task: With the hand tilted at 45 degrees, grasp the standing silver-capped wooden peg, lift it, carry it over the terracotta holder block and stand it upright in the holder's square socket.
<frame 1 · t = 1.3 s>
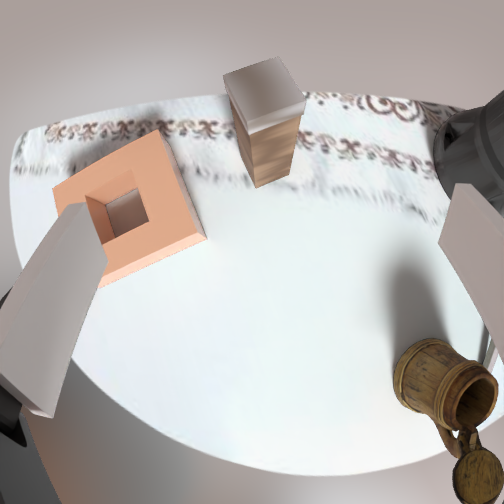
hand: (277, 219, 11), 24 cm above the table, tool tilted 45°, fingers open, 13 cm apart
wooden mug: (422, 391, 32), on the table
terracotta holder: (133, 216, 35), on the table
silver-capped wooden peg: (265, 165, 35), on the table
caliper: (487, 330, 33), on the table
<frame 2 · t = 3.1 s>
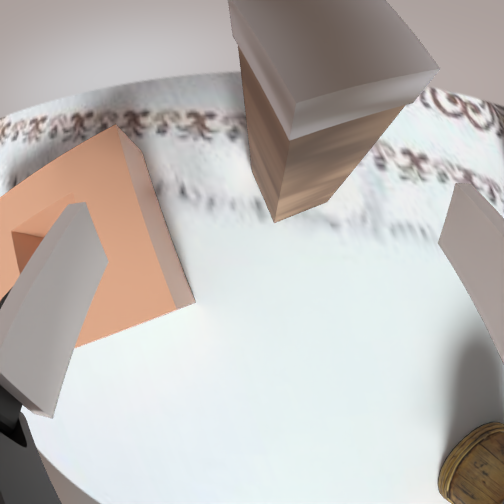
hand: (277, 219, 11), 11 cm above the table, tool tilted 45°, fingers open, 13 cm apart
wooden mug: (467, 479, 20), on the table
terracotta holder: (86, 259, 22), on the table
silver-capped wooden peg: (289, 186, 22), on the table
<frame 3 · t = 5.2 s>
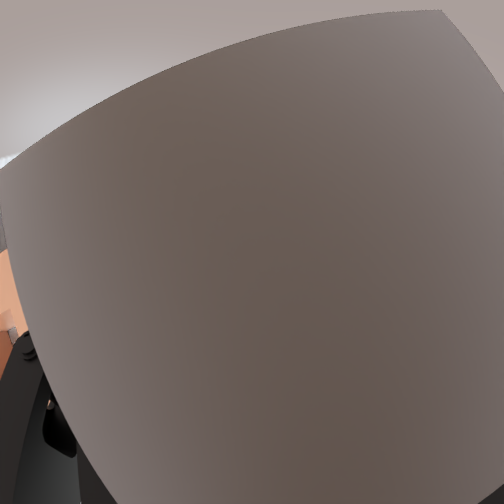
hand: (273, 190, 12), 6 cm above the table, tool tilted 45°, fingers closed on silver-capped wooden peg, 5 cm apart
terracotta holder: (45, 360, 18), on the table
silver-capped wooden peg: (273, 287, 18), on the table, touching gripper
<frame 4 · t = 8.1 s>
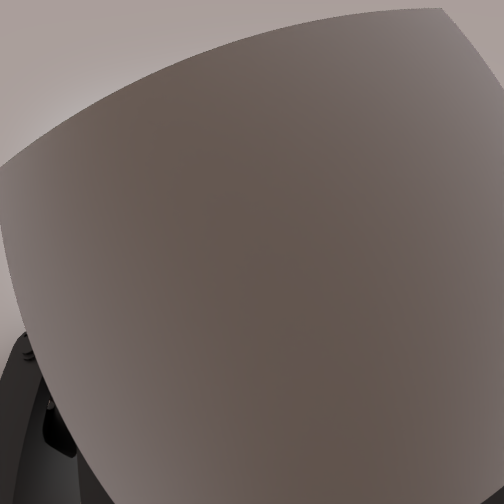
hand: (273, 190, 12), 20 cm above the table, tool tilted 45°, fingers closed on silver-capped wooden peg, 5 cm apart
silver-capped wooden peg: (274, 287, 18), point 14 cm above the table, touching gripper
when the fingers open (7 cm above the table, at t = 11.4 s): silver-capped wooden peg stays where it is, resting in terracotta holder.
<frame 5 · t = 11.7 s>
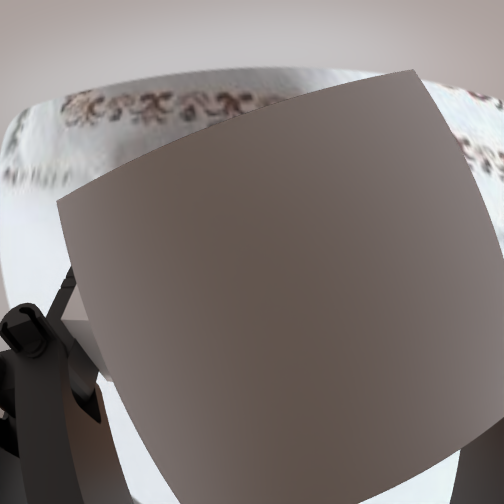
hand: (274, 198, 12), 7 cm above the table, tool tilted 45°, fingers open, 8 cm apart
silver-capped wooden peg: (273, 287, 19), resting in terracotta holder
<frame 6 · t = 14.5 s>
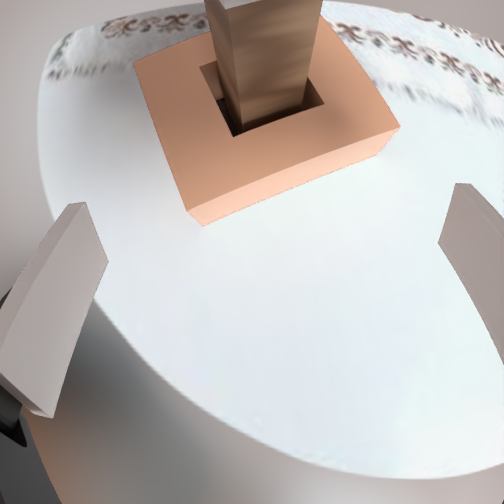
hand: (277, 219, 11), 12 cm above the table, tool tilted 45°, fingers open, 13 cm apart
terracotta holder: (260, 118, 23), on the table
silver-capped wooden peg: (260, 119, 23), resting in terracotta holder
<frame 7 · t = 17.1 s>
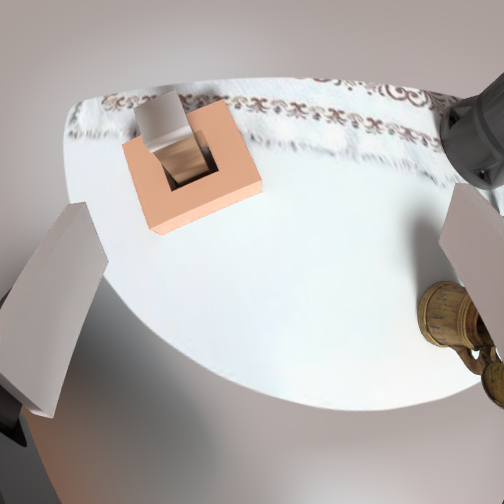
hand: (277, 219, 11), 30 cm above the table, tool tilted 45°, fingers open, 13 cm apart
wooden mug: (441, 329, 39), on the table
terracotta holder: (194, 173, 42), on the table
silver-capped wooden peg: (194, 173, 42), resting in terracotta holder
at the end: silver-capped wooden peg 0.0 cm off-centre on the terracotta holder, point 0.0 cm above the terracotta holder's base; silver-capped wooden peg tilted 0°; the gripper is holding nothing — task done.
